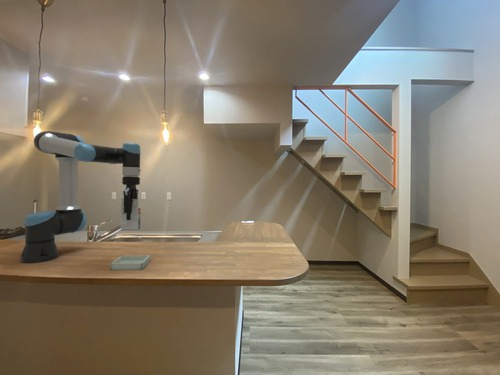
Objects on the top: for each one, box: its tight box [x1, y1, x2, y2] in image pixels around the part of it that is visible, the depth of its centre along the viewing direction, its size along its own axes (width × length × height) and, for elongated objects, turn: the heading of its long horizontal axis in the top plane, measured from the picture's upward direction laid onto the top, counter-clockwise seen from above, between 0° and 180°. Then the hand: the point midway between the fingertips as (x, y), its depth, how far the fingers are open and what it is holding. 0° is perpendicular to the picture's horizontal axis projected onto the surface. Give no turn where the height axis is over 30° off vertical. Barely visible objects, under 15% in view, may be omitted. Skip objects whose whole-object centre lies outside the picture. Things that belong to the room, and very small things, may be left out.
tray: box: [109, 254, 151, 271], centre depth 126 cm, size 14×13×3 cm
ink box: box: [120, 198, 141, 231], centre depth 125 cm, size 4×8×15 cm, turn 95°
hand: (130, 225), depth 125 cm, fingers closed on ink box, 4 cm apart
